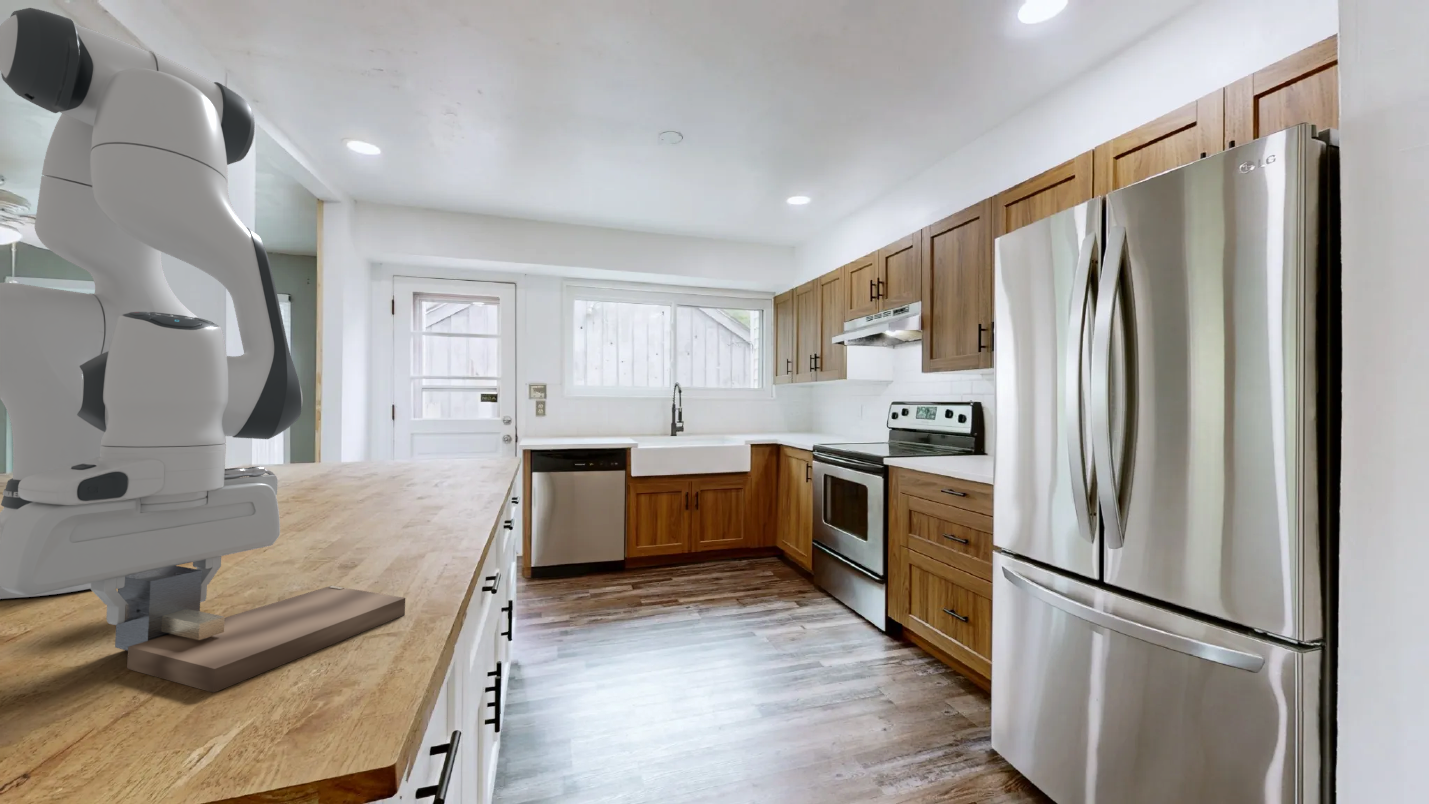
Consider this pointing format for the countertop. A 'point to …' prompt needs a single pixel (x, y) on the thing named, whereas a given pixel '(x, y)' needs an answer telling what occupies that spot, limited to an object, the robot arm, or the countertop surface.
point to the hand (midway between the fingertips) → (158, 612)
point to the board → (264, 637)
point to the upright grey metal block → (166, 607)
